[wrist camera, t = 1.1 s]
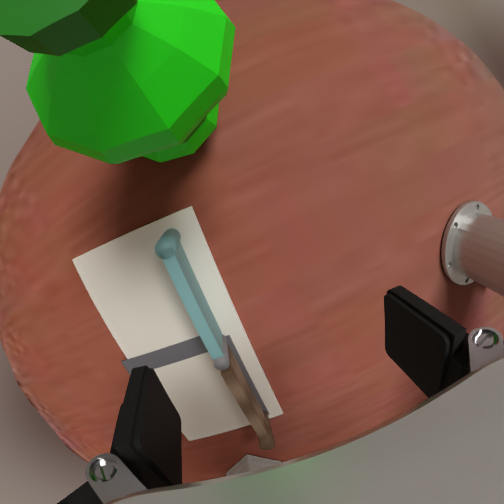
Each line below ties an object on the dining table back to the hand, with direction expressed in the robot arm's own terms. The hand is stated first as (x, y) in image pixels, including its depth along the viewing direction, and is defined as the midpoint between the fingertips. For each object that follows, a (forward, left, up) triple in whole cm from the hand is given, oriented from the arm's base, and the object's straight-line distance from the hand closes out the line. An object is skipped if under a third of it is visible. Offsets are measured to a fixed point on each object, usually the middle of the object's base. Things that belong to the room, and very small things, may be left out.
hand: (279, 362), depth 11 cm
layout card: (-1, +15, -22) cm, 27 cm away
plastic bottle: (+12, -8, -22) cm, 26 cm away
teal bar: (+1, +7, -21) cm, 22 cm away
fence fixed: (-11, +17, -21) cm, 29 cm away
